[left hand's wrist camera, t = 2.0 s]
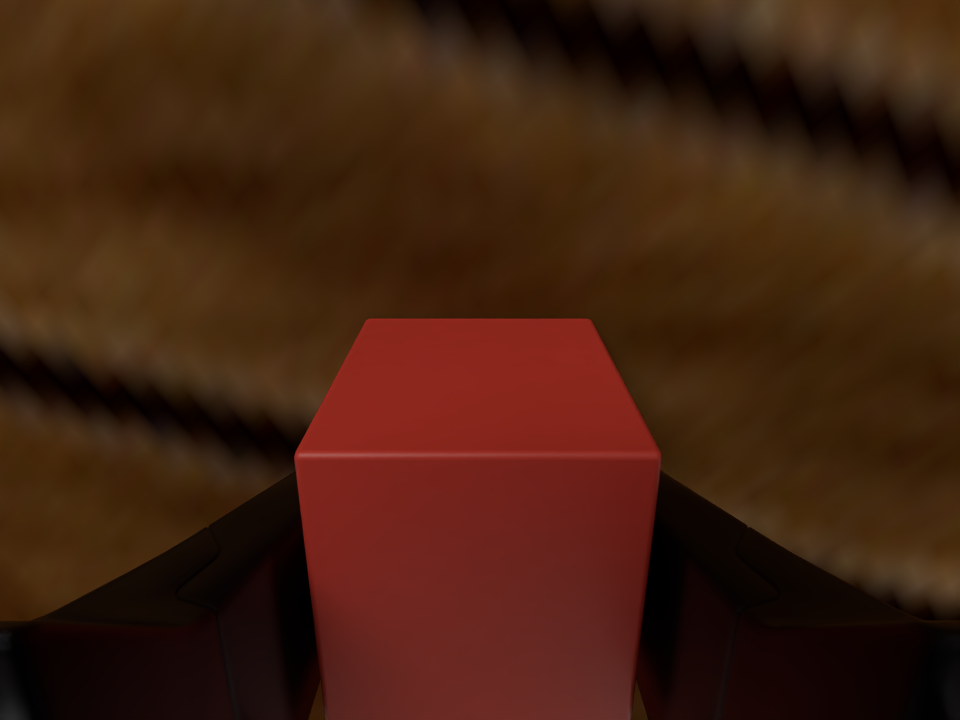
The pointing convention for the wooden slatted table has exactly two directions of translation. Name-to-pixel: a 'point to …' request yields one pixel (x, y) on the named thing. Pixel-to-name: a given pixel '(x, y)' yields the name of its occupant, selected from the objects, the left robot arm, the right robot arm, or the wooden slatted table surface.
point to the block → (478, 524)
